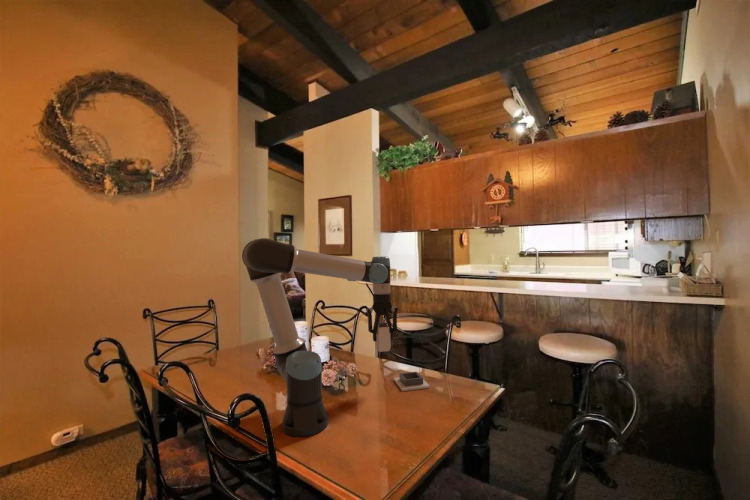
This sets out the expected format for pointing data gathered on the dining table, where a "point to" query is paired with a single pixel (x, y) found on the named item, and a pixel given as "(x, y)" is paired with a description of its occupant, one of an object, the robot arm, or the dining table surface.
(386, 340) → the grey bottle
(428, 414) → the dining table surface
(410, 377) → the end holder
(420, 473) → the dining table surface
